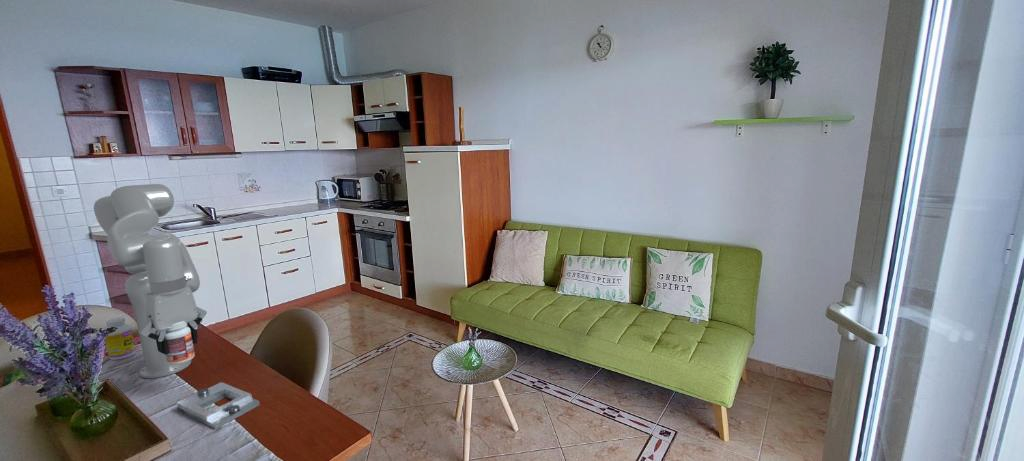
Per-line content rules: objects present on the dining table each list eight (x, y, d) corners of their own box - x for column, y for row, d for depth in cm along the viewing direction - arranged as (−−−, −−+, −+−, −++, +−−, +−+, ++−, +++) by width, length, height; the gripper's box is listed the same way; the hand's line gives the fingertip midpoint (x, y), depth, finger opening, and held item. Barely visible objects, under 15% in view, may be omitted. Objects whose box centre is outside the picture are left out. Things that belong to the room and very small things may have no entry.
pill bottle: (194, 361, 117) (187, 322, 114) (165, 367, 114) (158, 327, 111) (195, 351, 122) (189, 314, 120) (168, 357, 119) (161, 319, 116)
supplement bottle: (128, 359, 141) (120, 322, 138) (104, 362, 139) (96, 325, 137) (140, 350, 147) (133, 315, 145) (117, 352, 146) (110, 317, 143)
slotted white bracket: (178, 411, 111) (176, 399, 111) (222, 389, 121) (220, 379, 120) (215, 429, 104) (213, 417, 103) (259, 405, 113) (257, 394, 113)
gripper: (196, 274, 122) (205, 332, 126) (120, 293, 107) (133, 358, 111) (211, 278, 119) (220, 337, 123) (135, 298, 104) (148, 365, 108)
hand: (179, 347), depth 117 cm, fingers closed on pill bottle, 6 cm apart
